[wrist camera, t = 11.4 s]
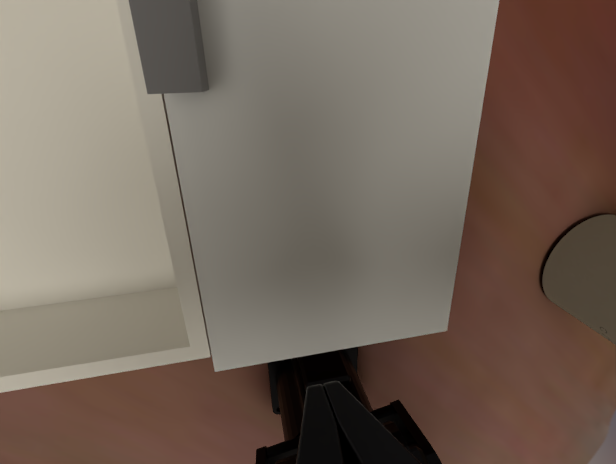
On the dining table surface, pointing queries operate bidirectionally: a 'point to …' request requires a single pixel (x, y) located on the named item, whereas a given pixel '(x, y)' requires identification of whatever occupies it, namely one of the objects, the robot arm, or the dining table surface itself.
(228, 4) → the flap
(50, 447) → the dining table surface
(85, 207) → the carton
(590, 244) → the travel mug
